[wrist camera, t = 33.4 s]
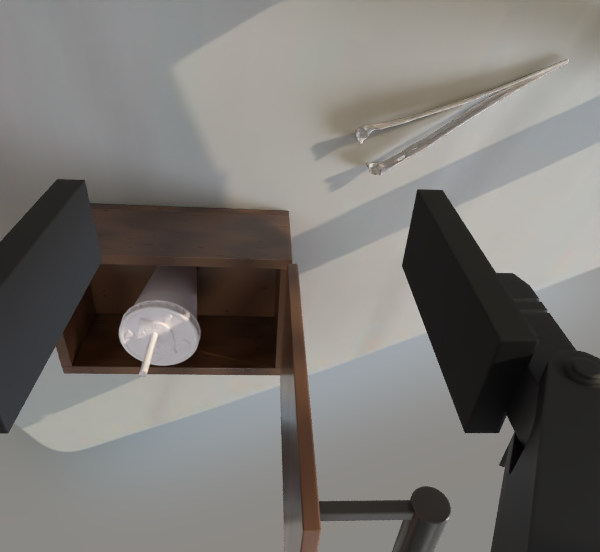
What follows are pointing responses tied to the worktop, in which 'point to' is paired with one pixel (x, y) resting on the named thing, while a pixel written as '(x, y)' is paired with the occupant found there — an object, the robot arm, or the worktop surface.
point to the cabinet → (210, 287)
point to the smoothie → (163, 319)
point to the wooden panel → (302, 471)
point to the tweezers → (461, 119)
